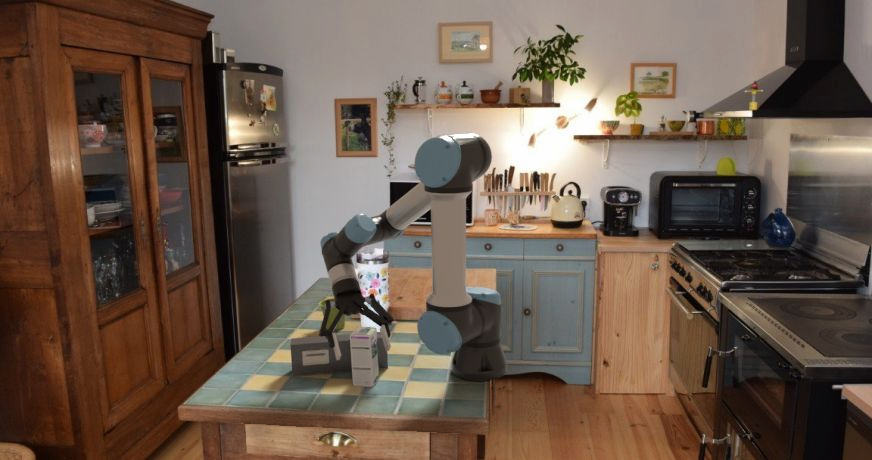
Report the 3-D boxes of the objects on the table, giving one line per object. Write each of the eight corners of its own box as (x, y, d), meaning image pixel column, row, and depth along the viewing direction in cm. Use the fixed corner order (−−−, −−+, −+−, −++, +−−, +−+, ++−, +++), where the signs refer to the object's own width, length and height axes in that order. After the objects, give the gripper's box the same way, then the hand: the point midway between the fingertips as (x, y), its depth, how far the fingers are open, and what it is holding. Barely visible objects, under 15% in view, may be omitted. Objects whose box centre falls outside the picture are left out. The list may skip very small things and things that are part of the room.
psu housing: (386, 361, 194) (385, 331, 192) (388, 369, 188) (387, 338, 187) (293, 369, 190) (291, 338, 188) (292, 377, 184) (290, 345, 183)
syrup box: (373, 387, 177) (371, 334, 174) (351, 386, 178) (349, 333, 175) (379, 378, 182) (377, 327, 179) (358, 377, 183) (356, 326, 181)
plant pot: (335, 334, 216) (333, 308, 215) (314, 328, 222) (313, 303, 220) (355, 326, 224) (354, 301, 222) (335, 321, 229) (333, 296, 227)
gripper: (384, 284, 196) (405, 351, 186) (298, 296, 186) (315, 367, 176) (390, 271, 190) (411, 339, 180) (301, 282, 180) (319, 355, 170)
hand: (364, 353), depth 178 cm, fingers open, 13 cm apart
